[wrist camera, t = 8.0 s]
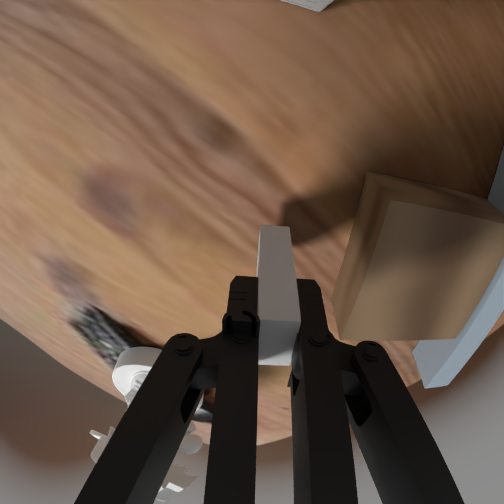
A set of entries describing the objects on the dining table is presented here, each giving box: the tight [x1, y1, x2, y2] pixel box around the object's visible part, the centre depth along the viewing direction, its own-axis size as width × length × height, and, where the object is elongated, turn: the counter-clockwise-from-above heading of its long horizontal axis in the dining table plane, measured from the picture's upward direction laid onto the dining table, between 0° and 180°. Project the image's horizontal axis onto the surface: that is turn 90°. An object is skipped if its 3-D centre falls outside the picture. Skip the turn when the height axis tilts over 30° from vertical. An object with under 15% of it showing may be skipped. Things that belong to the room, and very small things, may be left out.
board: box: [412, 146, 504, 388], centre depth 17 cm, size 2×20×4 cm, turn 176°
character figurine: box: [90, 347, 204, 502], centre depth 22 cm, size 9×10×12 cm
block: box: [331, 171, 504, 340], centre depth 17 cm, size 9×9×4 cm
